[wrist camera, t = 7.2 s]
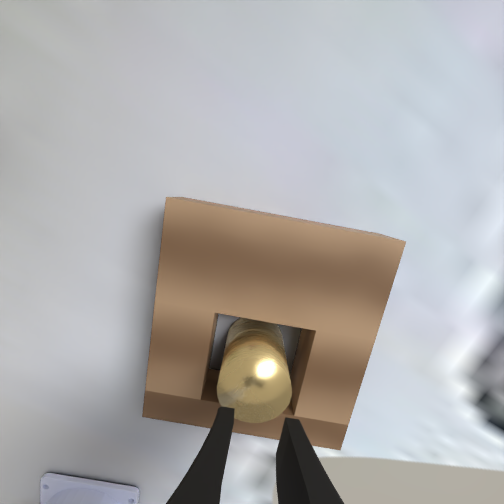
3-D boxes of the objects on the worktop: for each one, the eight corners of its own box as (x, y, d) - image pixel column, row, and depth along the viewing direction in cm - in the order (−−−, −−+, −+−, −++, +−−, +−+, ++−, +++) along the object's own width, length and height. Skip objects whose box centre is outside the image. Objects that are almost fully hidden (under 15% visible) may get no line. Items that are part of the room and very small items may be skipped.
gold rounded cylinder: (277, 368, 19) (284, 427, 14) (223, 359, 19) (212, 417, 14) (287, 319, 18) (298, 364, 13) (231, 310, 18) (222, 352, 13)
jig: (327, 412, 20) (340, 450, 17) (159, 383, 19) (142, 416, 16) (379, 233, 17) (406, 241, 14) (182, 197, 16) (166, 197, 14)
